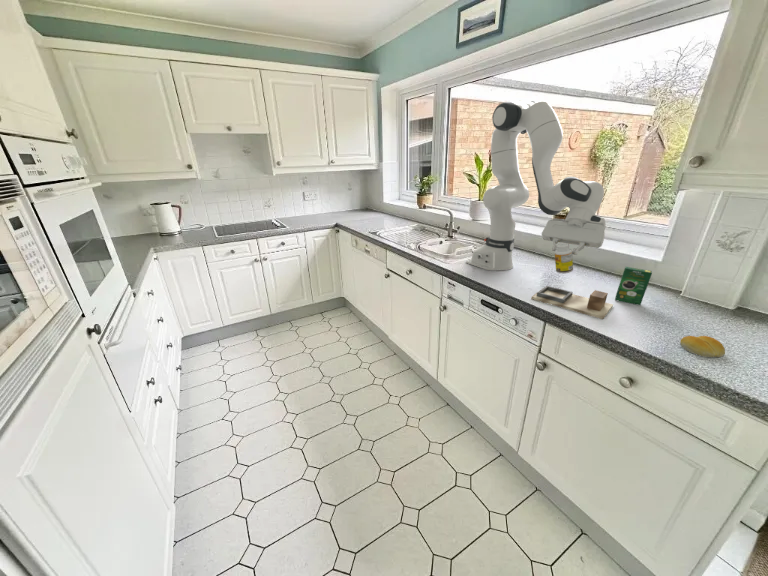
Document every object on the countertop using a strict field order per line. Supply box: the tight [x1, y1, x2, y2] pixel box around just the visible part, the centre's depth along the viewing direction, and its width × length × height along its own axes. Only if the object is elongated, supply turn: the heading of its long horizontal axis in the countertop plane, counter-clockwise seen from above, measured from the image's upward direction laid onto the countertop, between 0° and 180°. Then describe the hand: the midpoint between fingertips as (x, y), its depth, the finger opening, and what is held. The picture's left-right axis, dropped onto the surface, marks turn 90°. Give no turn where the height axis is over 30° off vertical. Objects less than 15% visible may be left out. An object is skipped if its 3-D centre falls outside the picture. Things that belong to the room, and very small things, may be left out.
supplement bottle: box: [554, 243, 574, 275], centre depth 116 cm, size 6×6×10 cm
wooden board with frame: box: [531, 285, 614, 320], centre depth 118 cm, size 24×13×6 cm, turn 45°
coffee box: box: [614, 266, 653, 306], centre depth 116 cm, size 8×3×13 cm, turn 53°
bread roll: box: [679, 335, 726, 358], centre depth 89 cm, size 8×9×4 cm
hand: (564, 252), depth 116 cm, fingers closed on supplement bottle, 5 cm apart
